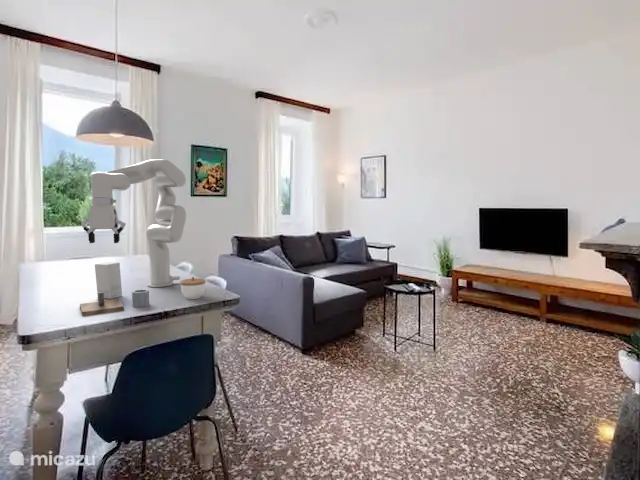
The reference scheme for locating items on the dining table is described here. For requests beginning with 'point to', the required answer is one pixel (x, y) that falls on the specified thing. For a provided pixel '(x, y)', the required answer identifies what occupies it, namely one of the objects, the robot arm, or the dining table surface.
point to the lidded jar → (193, 287)
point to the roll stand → (101, 306)
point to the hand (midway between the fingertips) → (104, 242)
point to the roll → (140, 298)
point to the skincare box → (108, 279)
